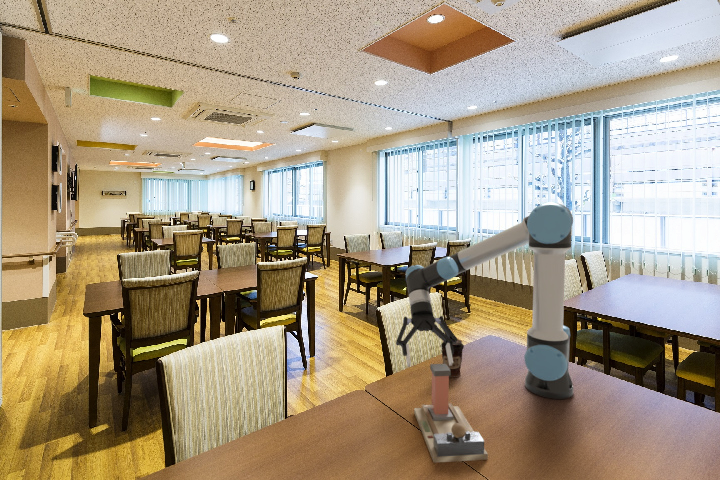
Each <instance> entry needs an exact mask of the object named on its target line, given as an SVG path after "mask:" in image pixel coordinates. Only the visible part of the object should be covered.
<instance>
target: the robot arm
mask: <svg viewBox="0 0 720 480" xmlns="http://www.w3.org/2000/svg"><path fill="white" fill-rule="evenodd" d="M573 223H574V218H573V214H572V212H571V211H570V209H569V208H568V207H567V206H565V205H563V204H562V203H558V202H545V203H542V204H539V205H537V206H535V208H533V209H532V211H531V212H530V214H529V215H528V216H526V217H524V218H522V220H521V222H520V223H518V224H515V225H513V226H511V227H510V228H507V229H505V230H502V231H500V232H499V233H496V234H495V235H492V236H490V237H487V238H485V239H484V240H480V241H479V242H477V243H475V244H472V245H471V246H468V247H467V248H464V249H462V250H460V251H458V252H455V253H454V254H452V255H449V256H445V257H442V258H441V259H439V260H436V261H435V262H433V263H431V264H428V265H427V266H425V267H424V266H422V265H420V264H415V265H411V266H409V267H408V268H407V269H406V271H405V281H406V286H407V292H408V298H409V299H408V301H409V306H410V317H411V318H408V317H407V316H404V317H403V320H402V325H401V329H400V331H399V333H398V336H397V338H396V340H395V341H396V342H395V345H396V346H400V347H401V349H402V355H403V357H405V358H406V367H407V368H410V367H411V365H412V361H411V354H410V353H411V352H410V347H409V343H408V342H409V341H410V340H411V339H412V337H413V336H414V335H415V333H416V332H417V331H419V332H431V333H434V334H435V335H436V336H437V337H438V338H439V339H441V341H442V342H443V341H444V342H445V343H446V344H447V345H446V351H447V357H448V362H449V366H452V364H453V358H452V355H453V353H454V349H453V344H455V343H456V342H457V339H458V337H457V336H456V335H455V334H454V332H453V331H452V329H450V326H449V325H448V324H447V323H446V322H445V318H444V317H443V315H440V316H439V317H435V316H434V311H433V307H432V301H431V295H430V288H432V287H435V286H437V285H439V284H442V283H444V282H446V281H449V280H451V279H453V278H455V277H456V276H458V275H459V274H461V273H463V272H466V271H468V270H471V269H473V268H475V267H478V266H480V265H482V264H484V263H487V262H489V261H491V260H494V259H495V258H498V257H500V256H503V255H505V254H508V253H510V252H512V251H515V250H517V249H518V248H522V247H524V246H527V245H528V247H529V249H531V250H532V252H533V283H532V284H533V285H532V287H533V289H532V326H531V327H529V328H528V330H527V331H526V334H527V335H526V351H525V353H524V363H525V364H524V365H525V367H526V369H527V370H528V371H527V373H526V376H525V379H524V386H525V388H526V389H527V390H528V391H529V392H531V393H533V394H535V395H538V396H540V397H543V398H547V399H552V400H565V399H568V398H571V397H572V396H573V395H574V384H573V381H572V378H571V374H570V372H569V371H570V370H569V365H570V364H569V363H570V361H569V360H570V338H571V331H570V328H569V327H568V326H566V325H564V308H565V307H564V306H565V305H564V304H565V279H566V278H565V273H566V272H565V271H566V270H565V269H566V266H565V265H566V253H568V251H569V250H570V249H572V235H573V234H572V230H573V227H572V226H573ZM410 323H411V325H413V327H412V328H411V330H410V331H409V332H408V333H407V335H406V336H405V338H403V336H404V334H405V332H406V328H407V326H409V325H410ZM436 323H437V324H438V325H439V326H440V328H441V329H440V328H439V326H437V324H436ZM402 339H403V340H402Z"/></svg>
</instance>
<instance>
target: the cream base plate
mask: <svg viewBox="0 0 720 480" xmlns="http://www.w3.org/2000/svg"><path fill="white" fill-rule="evenodd" d="M424 405H427V404H423V403H422V404H421V407H414V408H413V410H414V412H413V413H414V416H415V418H416V421H417V423H418V426H419V429H420V432H421V433H422V436H423V438H424V443H426V447H427V449H428V451H429V454H430V457H431V460H432V462H433V463H448V462H450V463H451V462H466V461H467V462H469V461H482V460H483V461H484V460H488V459H489V456H488V455H489V453H488V451H487V450H486V448H485V447H484V454H477V455H460V456H443V457H437V454H436V452H435V449H434V447H433V434H444V433H447V432H451V433H452V431H451V429H452V426H453V425H454V424H455V423H461V424H462V425H463V426H464V427H465V429H466V431H469V432H475V431H474V429H473V428H472V426H471V425H470V423H469V421H468V420H467V418H466V416H465V414H464V413H463V411H462V410H461V408H460V406H458V405H454V406H453V404H452V402H449V405H448V408H449V410H450V412H451V413H452V415H453V420H440V421H433V419H432V417H431V415H430V413H429V411H428V409H427V408H424Z"/></svg>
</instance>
